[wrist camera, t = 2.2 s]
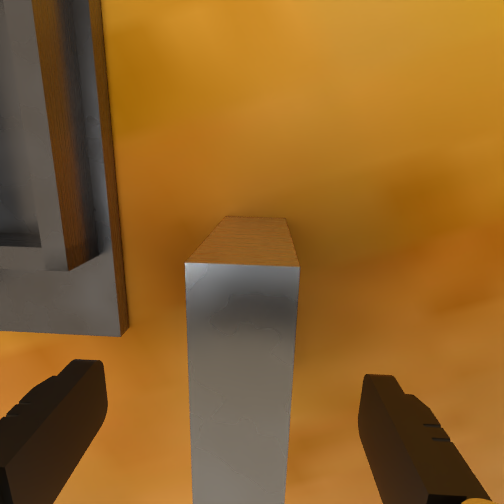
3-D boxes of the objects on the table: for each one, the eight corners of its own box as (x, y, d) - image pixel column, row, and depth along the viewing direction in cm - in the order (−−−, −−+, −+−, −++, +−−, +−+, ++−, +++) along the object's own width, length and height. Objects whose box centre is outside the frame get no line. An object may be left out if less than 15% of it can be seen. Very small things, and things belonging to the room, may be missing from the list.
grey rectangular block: (285, 218, 16) (300, 266, 8) (277, 373, 18) (282, 525, 10) (225, 216, 16) (185, 262, 8) (225, 370, 18) (193, 518, 11)
